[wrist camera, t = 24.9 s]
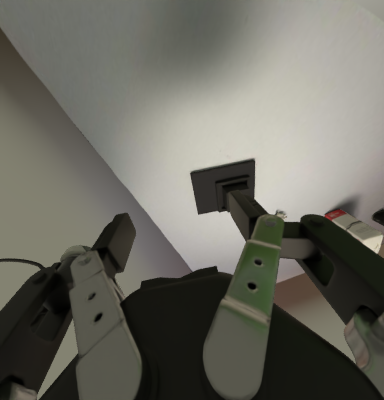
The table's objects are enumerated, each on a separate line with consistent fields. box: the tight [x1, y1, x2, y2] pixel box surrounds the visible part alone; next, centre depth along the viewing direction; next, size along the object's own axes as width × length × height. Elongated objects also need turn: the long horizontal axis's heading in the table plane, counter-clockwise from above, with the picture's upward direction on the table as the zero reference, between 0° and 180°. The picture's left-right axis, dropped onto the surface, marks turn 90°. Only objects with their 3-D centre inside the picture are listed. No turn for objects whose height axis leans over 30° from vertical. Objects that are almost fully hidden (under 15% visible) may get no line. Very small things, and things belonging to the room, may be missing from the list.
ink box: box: [325, 209, 383, 253], centre depth 45 cm, size 9×5×12 cm, turn 24°
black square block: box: [222, 182, 249, 212], centre depth 39 cm, size 6×6×4 cm
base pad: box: [190, 160, 255, 215], centre depth 40 cm, size 16×12×2 cm
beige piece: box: [276, 212, 287, 219], centre depth 47 cm, size 7×12×2 cm, turn 154°
